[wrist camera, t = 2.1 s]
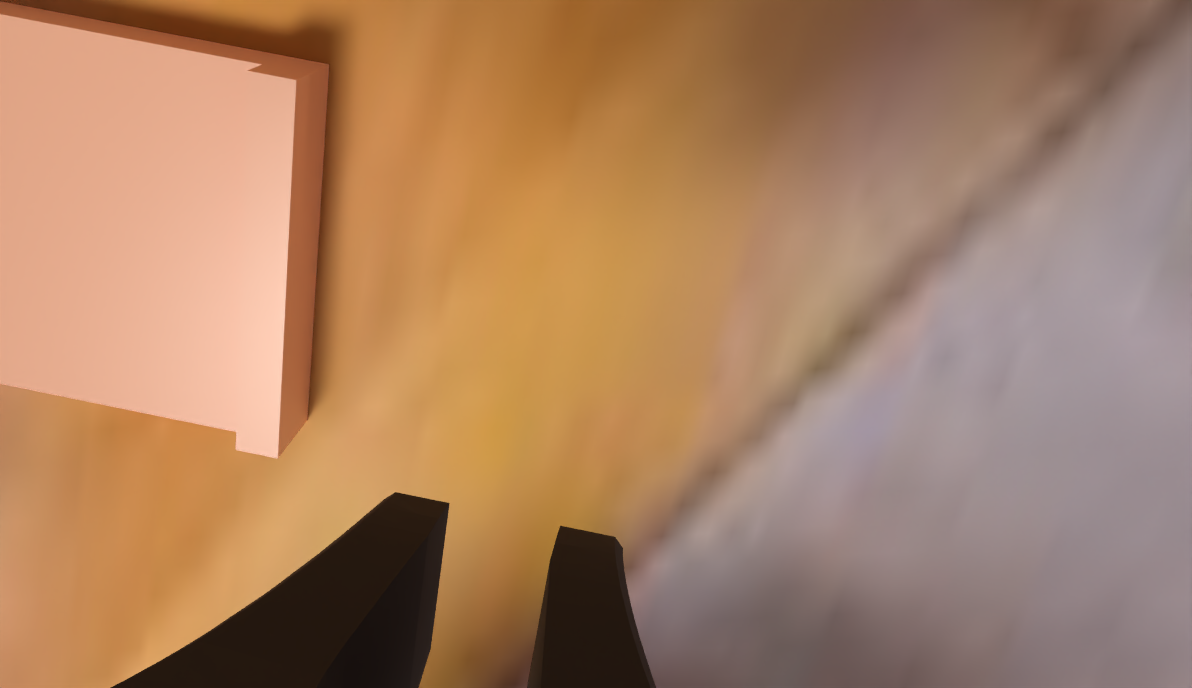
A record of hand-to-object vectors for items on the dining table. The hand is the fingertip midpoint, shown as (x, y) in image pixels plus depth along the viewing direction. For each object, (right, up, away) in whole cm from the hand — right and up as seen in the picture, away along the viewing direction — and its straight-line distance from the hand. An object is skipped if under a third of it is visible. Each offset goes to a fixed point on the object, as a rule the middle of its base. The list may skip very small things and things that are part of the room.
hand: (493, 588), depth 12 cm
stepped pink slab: (-8, +5, +8) cm, 13 cm away
